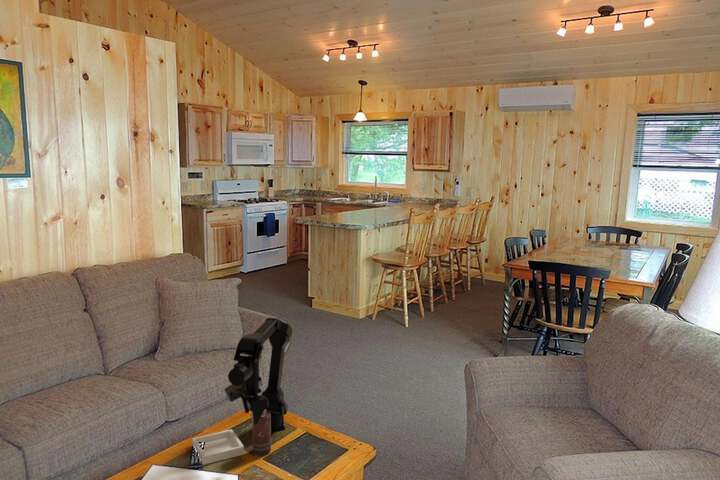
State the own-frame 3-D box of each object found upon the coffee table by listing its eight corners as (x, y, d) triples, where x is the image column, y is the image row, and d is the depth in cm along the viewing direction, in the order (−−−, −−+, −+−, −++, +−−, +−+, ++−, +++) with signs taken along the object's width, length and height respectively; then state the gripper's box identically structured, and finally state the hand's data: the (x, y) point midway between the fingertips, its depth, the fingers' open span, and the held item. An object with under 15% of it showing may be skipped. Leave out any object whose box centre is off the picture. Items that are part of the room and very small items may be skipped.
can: (273, 447, 184) (273, 409, 182) (268, 456, 177) (268, 417, 176) (256, 446, 184) (256, 408, 183) (250, 455, 178) (250, 416, 176)
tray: (231, 436, 191) (231, 429, 190) (244, 454, 179) (244, 446, 178) (192, 445, 184) (192, 438, 183) (202, 465, 172) (202, 457, 171)
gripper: (219, 368, 180) (220, 412, 182) (235, 388, 163) (235, 436, 166) (250, 363, 185) (251, 405, 187) (269, 382, 169) (269, 428, 171)
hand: (251, 418), depth 178 cm, fingers open, 9 cm apart
